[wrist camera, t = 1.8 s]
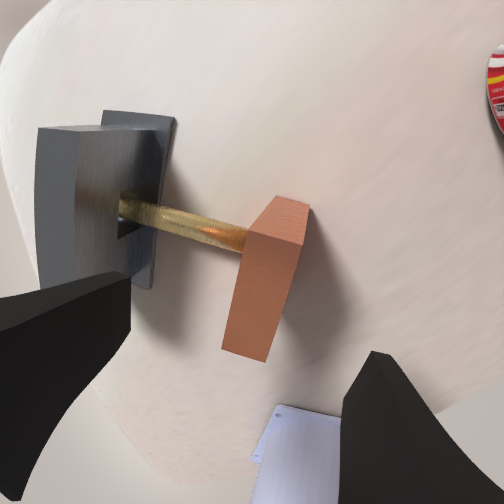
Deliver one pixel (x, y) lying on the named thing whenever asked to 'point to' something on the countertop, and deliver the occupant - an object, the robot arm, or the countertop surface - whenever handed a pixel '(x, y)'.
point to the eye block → (98, 196)
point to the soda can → (496, 85)
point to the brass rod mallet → (242, 262)
